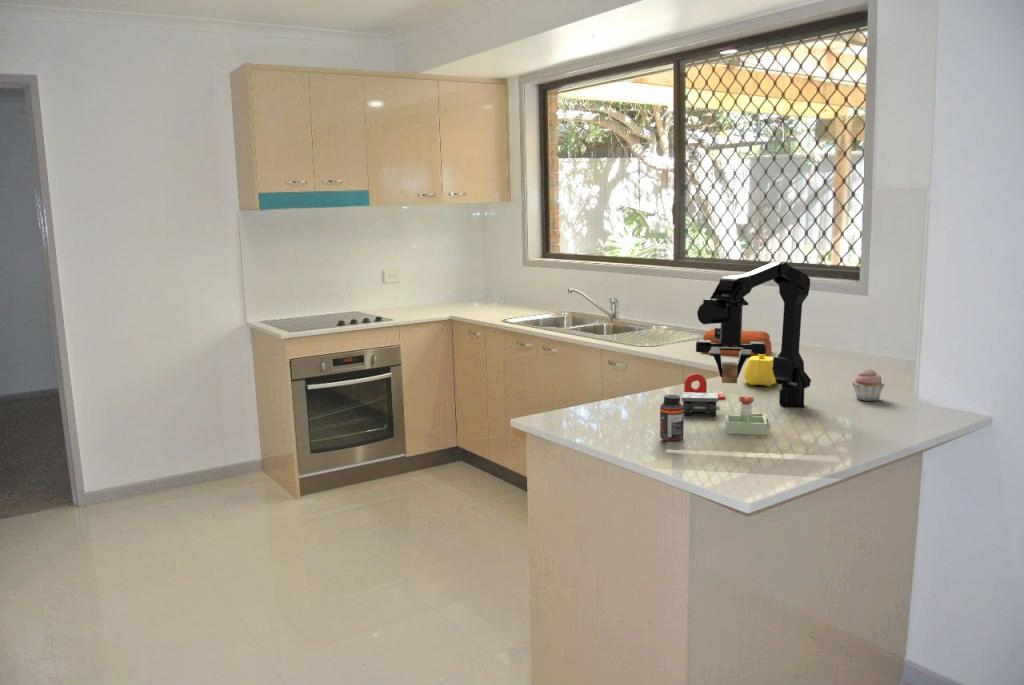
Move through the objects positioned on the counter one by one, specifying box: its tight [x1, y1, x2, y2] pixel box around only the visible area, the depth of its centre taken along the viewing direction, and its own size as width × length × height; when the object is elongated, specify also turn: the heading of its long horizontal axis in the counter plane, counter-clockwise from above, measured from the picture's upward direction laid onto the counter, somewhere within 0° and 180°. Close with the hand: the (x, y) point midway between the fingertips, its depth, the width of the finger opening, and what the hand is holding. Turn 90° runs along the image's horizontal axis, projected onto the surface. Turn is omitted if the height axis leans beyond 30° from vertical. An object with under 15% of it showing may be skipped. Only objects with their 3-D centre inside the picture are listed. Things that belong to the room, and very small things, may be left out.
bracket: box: [683, 372, 726, 400], centre depth 252 cm, size 12×4×8 cm, turn 94°
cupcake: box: [851, 366, 886, 402], centre depth 246 cm, size 9×9×10 cm
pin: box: [739, 395, 755, 423], centre depth 214 cm, size 4×4×8 cm
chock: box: [721, 361, 738, 384], centre depth 226 cm, size 4×6×5 cm, turn 167°
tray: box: [725, 414, 768, 436], centre depth 215 cm, size 10×8×3 cm
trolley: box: [681, 391, 720, 417], centre depth 233 cm, size 11×8×5 cm
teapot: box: [743, 354, 776, 388], centre depth 269 cm, size 18×11×11 cm, turn 158°
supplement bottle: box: [659, 394, 685, 442], centre depth 208 cm, size 6×6×11 cm
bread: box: [700, 328, 773, 357], centre depth 324 cm, size 16×27×11 cm, turn 60°
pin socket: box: [751, 412, 769, 427], centre depth 222 cm, size 6×6×2 cm
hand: (729, 377), depth 226 cm, fingers closed on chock, 4 cm apart
